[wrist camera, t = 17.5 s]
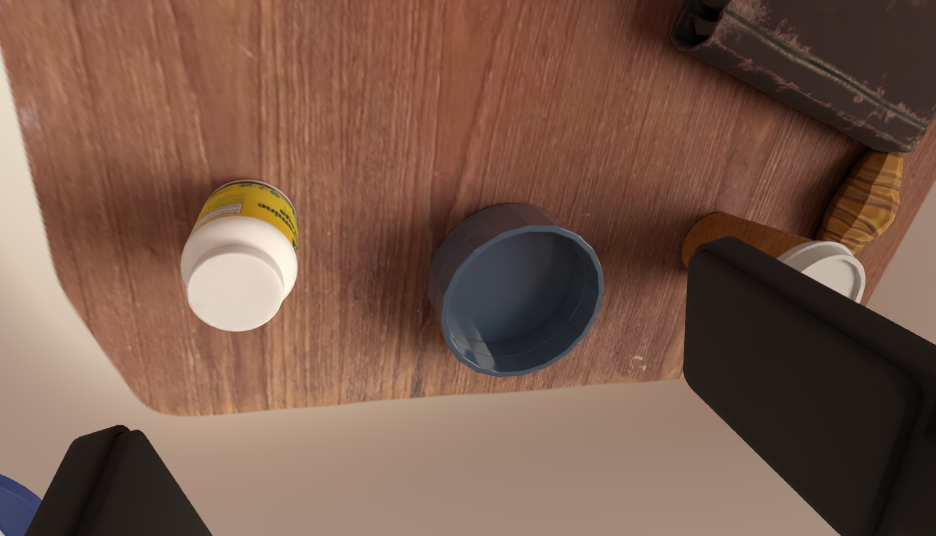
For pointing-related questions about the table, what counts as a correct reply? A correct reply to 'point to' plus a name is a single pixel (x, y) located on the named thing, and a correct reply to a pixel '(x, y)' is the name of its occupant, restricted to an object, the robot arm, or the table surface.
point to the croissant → (864, 201)
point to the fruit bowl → (514, 289)
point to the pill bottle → (241, 256)
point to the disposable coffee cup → (785, 251)
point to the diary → (827, 59)
